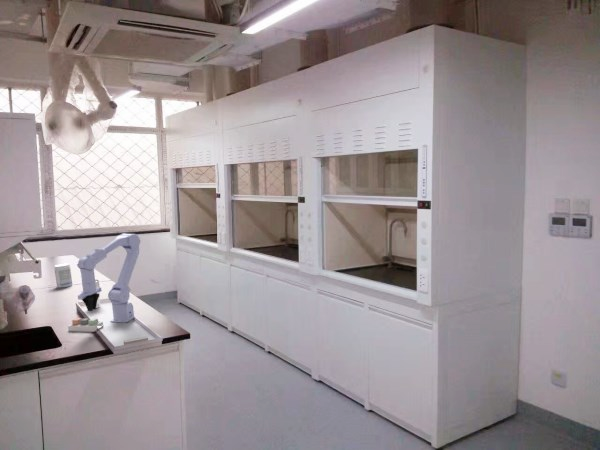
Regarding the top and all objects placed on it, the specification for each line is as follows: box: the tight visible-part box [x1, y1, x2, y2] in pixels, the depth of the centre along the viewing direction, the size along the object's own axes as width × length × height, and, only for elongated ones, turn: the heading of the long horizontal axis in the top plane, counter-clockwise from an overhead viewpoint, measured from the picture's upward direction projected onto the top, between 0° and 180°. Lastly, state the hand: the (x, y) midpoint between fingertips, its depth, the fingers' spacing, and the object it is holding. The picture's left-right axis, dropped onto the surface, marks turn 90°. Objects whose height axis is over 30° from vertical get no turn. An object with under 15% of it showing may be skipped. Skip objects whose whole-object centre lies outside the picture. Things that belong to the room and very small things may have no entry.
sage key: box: [88, 318, 99, 325], centre depth 228 cm, size 3×3×2 cm
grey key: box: [80, 317, 91, 325], centre depth 229 cm, size 3×3×2 cm
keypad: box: [67, 321, 104, 333], centre depth 229 cm, size 14×7×3 cm, turn 77°
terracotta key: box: [71, 317, 83, 325], centre depth 230 cm, size 3×3×2 cm
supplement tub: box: [53, 263, 73, 289], centre depth 323 cm, size 10×10×15 cm
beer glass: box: [95, 279, 102, 309], centre depth 266 cm, size 7×7×15 cm
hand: (91, 310), depth 227 cm, fingers closed
